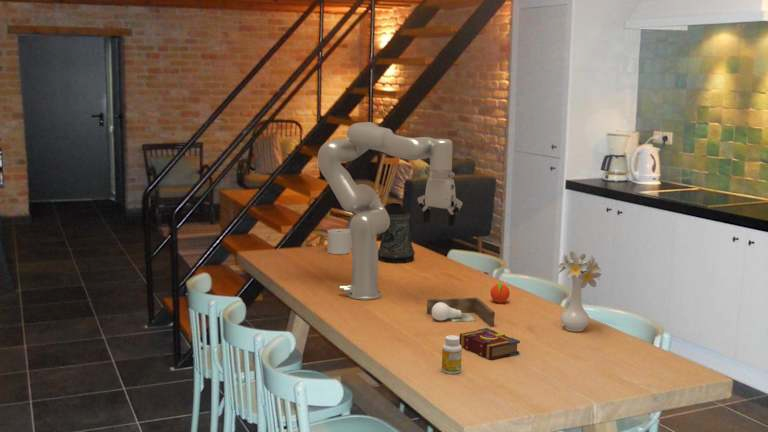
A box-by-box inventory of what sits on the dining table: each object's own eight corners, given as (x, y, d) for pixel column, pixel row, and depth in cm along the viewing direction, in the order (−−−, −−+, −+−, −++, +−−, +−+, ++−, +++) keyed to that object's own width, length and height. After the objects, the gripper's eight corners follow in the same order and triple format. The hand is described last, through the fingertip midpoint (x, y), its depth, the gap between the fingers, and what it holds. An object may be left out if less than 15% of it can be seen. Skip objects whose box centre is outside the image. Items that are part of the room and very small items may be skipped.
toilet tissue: (324, 253, 383) (324, 232, 381) (330, 248, 394) (331, 227, 393) (347, 255, 381) (348, 233, 379) (353, 249, 392) (353, 228, 391)
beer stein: (414, 264, 365) (416, 207, 361) (370, 263, 366) (371, 206, 361) (414, 256, 382) (415, 201, 378) (371, 255, 382) (372, 200, 378)
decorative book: (490, 361, 244) (491, 345, 243) (455, 346, 257) (456, 330, 256) (519, 355, 250) (520, 339, 249) (484, 340, 263) (485, 325, 262)
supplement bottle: (440, 367, 237) (441, 334, 235) (459, 367, 238) (460, 334, 236) (443, 374, 232) (444, 340, 230) (462, 374, 232) (463, 340, 231)
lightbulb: (455, 313, 289) (427, 309, 285) (463, 301, 285) (434, 297, 281) (459, 326, 285) (430, 323, 281) (467, 315, 281) (438, 311, 277)
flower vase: (574, 339, 265) (579, 262, 261) (544, 323, 282) (548, 250, 278) (610, 336, 269) (615, 260, 265) (578, 320, 286) (582, 248, 282)
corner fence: (441, 329, 273) (441, 314, 272) (426, 313, 290) (427, 299, 290) (494, 326, 277) (494, 312, 276) (476, 311, 294) (477, 297, 293)
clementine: (508, 306, 302) (509, 287, 300) (489, 304, 303) (489, 285, 302) (509, 300, 309) (510, 281, 308) (490, 299, 311) (491, 280, 310)
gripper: (468, 176, 288) (466, 225, 291) (424, 172, 297) (422, 219, 300) (457, 178, 281) (455, 228, 284) (413, 173, 291) (412, 222, 294)
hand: (439, 223), depth 292 cm, fingers open, 9 cm apart
